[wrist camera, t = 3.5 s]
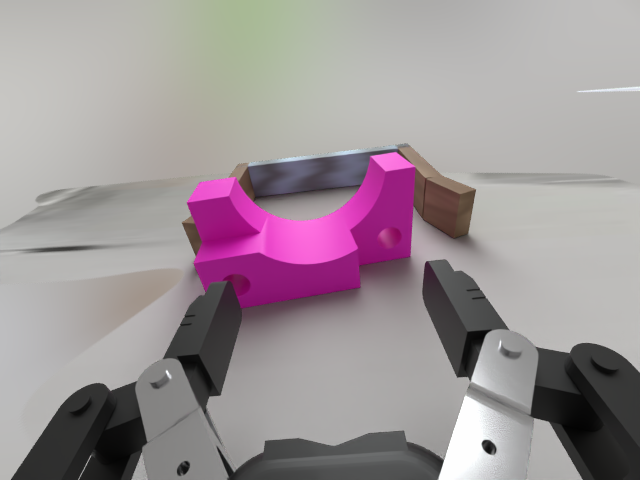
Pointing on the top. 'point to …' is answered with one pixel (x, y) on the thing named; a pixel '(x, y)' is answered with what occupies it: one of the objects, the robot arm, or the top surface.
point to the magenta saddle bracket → (302, 237)
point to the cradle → (349, 170)
